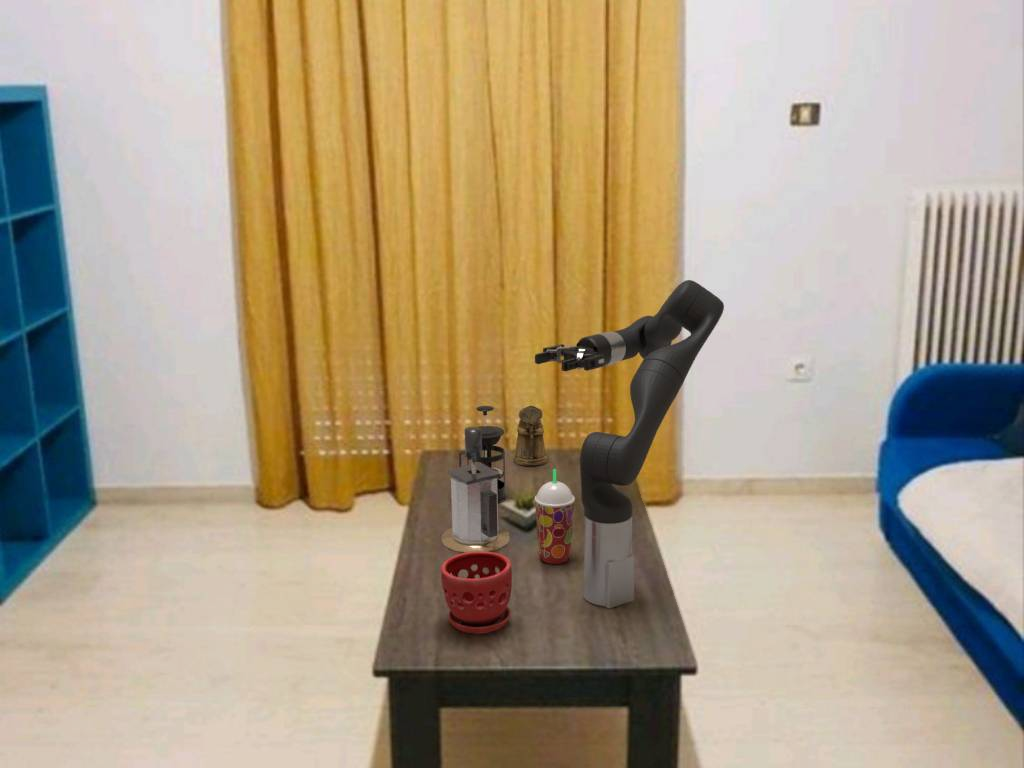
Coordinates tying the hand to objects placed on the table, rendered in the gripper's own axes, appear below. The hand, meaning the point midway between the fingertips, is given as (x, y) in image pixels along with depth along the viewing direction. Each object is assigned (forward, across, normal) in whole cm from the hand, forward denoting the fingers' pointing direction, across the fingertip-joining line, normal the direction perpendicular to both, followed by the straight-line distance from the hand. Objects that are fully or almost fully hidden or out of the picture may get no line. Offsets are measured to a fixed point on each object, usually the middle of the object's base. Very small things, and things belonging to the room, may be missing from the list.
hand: (549, 363), depth 240 cm
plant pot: (+42, +24, +38) cm, 61 cm away
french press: (0, -23, +38) cm, 44 cm away
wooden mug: (-24, -33, +38) cm, 56 cm away
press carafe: (+17, -5, +38) cm, 42 cm away
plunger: (+17, -5, +35) cm, 39 cm away
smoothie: (+12, +14, +38) cm, 42 cm away
